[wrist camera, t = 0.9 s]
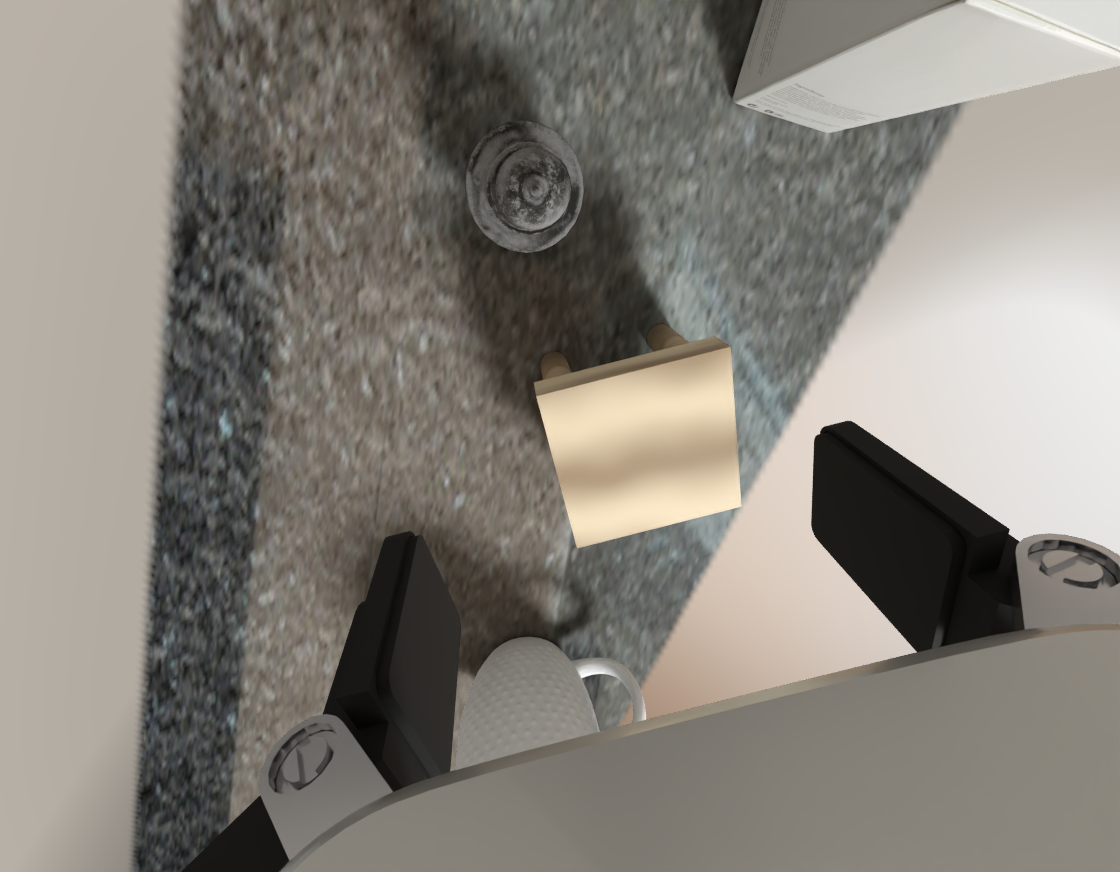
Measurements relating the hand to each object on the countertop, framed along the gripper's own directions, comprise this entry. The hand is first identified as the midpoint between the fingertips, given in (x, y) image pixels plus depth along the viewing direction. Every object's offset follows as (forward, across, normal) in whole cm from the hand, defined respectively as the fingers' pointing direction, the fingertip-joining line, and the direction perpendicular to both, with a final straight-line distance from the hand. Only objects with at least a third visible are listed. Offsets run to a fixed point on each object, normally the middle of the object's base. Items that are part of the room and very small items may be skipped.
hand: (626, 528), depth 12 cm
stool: (+22, -3, +7) cm, 23 cm away
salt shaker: (+22, 0, -7) cm, 23 cm away
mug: (+21, +8, +30) cm, 38 cm away
